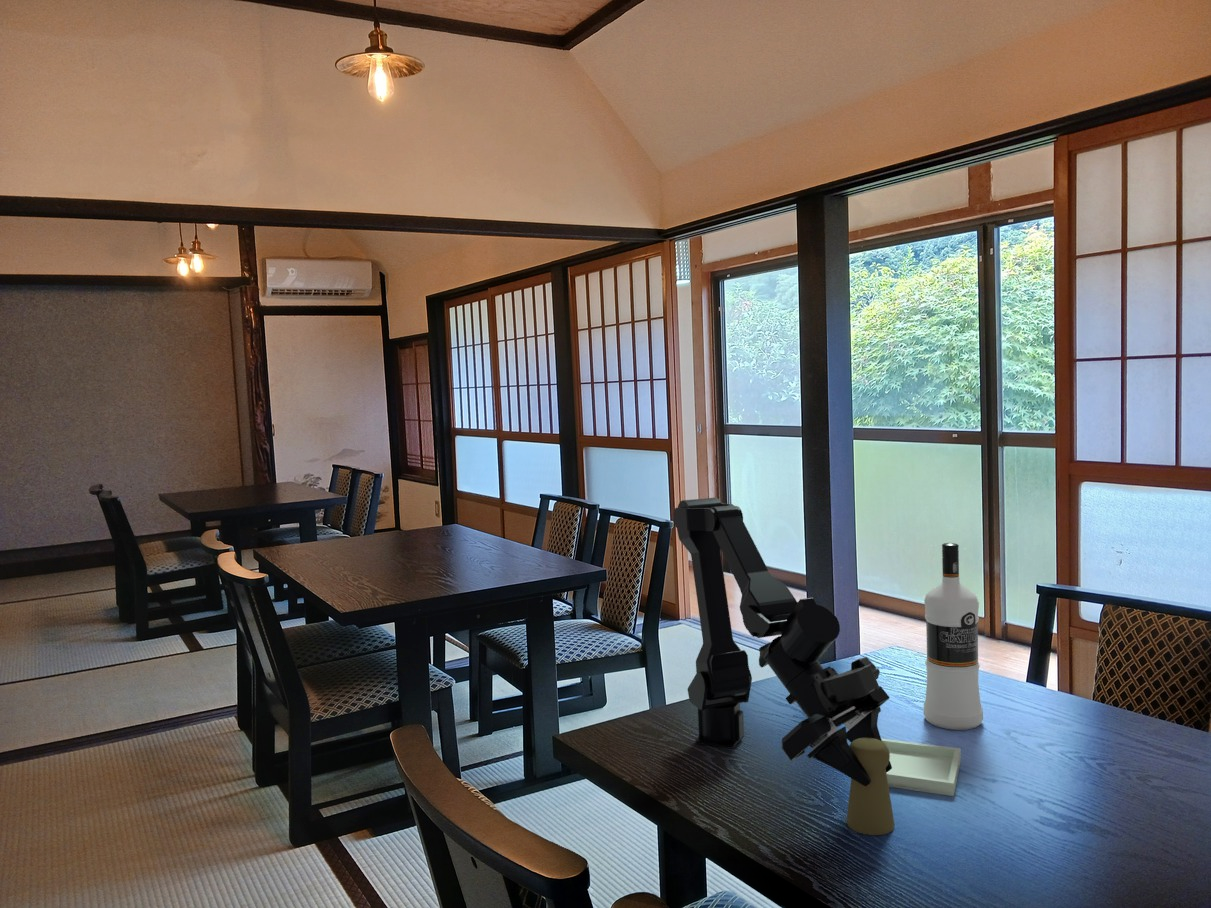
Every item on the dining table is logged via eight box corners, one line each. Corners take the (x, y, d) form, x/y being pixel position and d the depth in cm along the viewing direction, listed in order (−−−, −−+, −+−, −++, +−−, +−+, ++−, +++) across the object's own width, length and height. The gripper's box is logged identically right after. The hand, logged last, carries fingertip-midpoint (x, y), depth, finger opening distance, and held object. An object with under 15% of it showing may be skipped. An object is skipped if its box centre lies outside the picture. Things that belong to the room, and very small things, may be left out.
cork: (897, 836, 113) (895, 751, 112) (847, 833, 114) (845, 749, 113) (891, 813, 119) (890, 733, 118) (844, 811, 120) (842, 731, 119)
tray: (860, 782, 129) (859, 770, 128) (874, 748, 140) (873, 737, 140) (954, 796, 123) (953, 783, 123) (960, 760, 134) (960, 748, 134)
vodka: (960, 708, 155) (957, 536, 153) (995, 727, 146) (993, 545, 144) (912, 715, 153) (909, 541, 151) (945, 735, 144) (942, 550, 142)
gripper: (799, 659, 111) (883, 770, 104) (874, 626, 124) (954, 723, 117) (749, 707, 117) (825, 815, 110) (826, 671, 130) (898, 765, 123)
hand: (879, 777), depth 115 cm, fingers closed on cork, 5 cm apart
